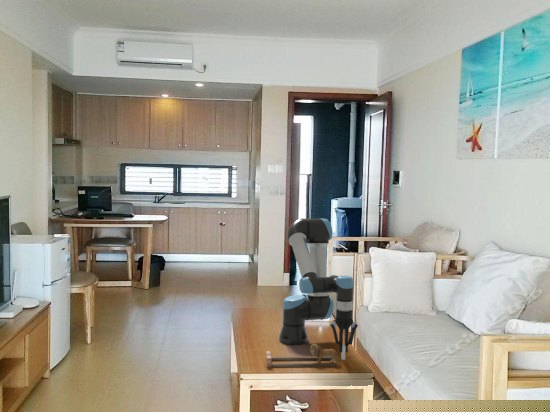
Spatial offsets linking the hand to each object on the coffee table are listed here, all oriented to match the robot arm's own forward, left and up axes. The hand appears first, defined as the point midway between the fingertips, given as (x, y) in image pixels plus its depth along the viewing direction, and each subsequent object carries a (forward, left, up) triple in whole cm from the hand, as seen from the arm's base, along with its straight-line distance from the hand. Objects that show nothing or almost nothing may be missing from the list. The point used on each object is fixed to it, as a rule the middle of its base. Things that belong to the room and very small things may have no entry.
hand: (343, 358), depth 251 cm
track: (0, -19, -2) cm, 19 cm away
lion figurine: (0, -9, -2) cm, 9 cm away
